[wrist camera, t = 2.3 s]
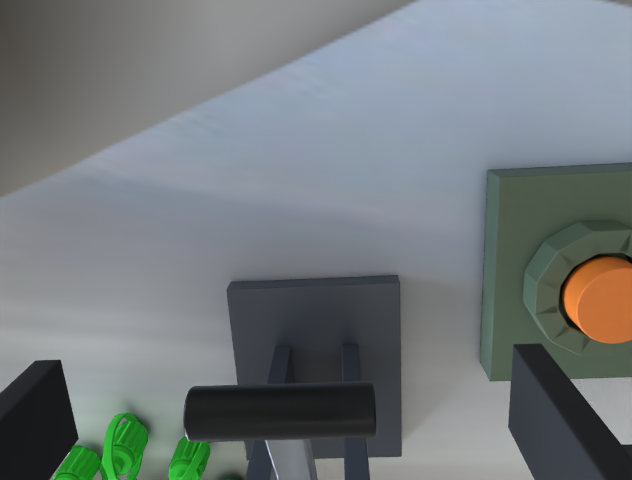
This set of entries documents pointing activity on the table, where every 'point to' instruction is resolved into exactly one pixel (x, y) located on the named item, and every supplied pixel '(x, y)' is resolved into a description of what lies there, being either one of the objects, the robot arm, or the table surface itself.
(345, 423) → the switch lever
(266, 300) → the switch bracket
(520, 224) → the stop box
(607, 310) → the stop button
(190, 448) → the chandelier
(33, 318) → the table surface
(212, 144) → the table surface
